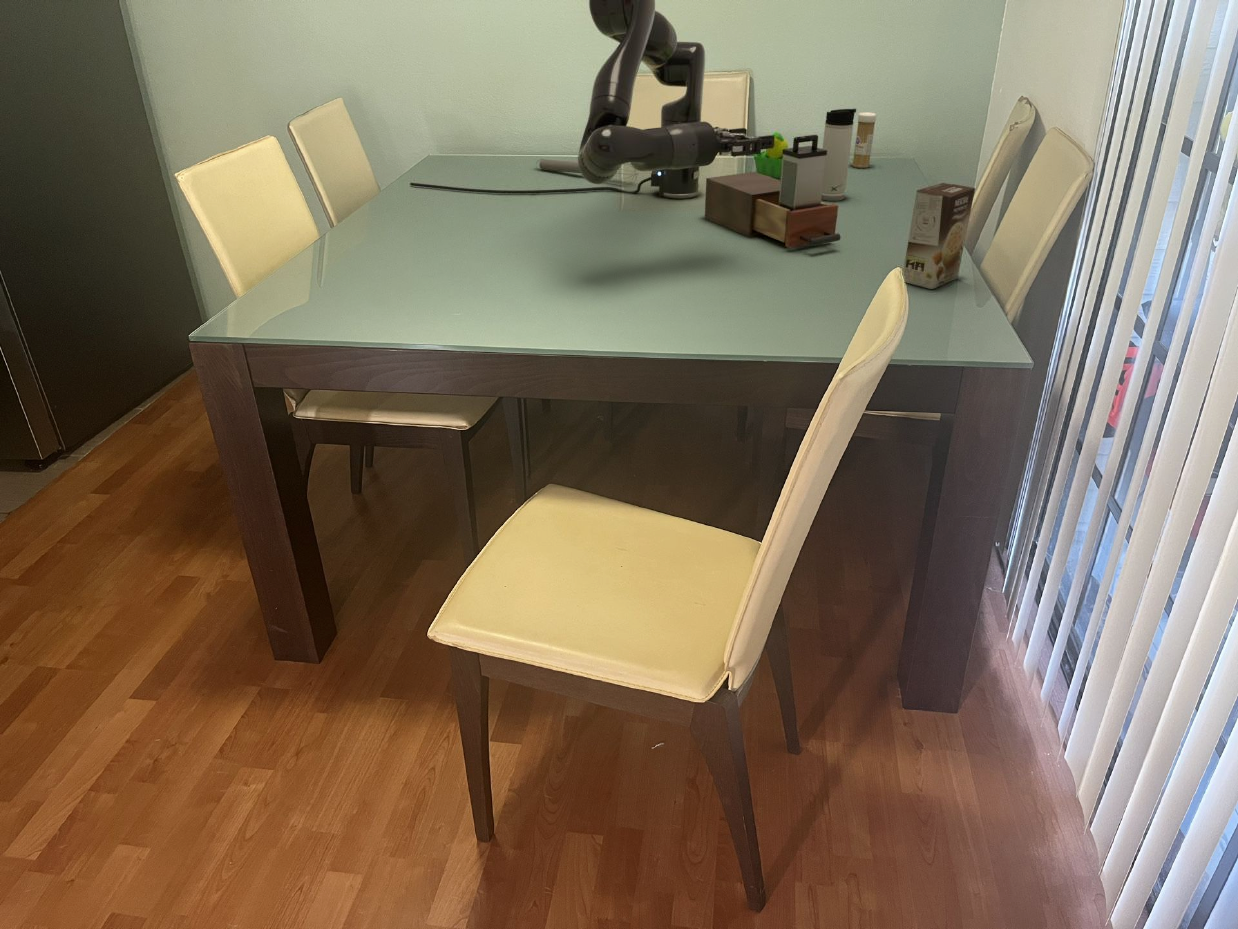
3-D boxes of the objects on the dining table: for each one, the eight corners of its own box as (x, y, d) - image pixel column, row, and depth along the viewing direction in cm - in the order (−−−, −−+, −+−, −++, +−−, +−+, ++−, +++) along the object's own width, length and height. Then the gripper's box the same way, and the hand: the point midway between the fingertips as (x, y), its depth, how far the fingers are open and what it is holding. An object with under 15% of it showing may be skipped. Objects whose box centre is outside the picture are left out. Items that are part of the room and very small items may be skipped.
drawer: (848, 244, 177) (852, 209, 173) (802, 253, 172) (805, 217, 168) (786, 221, 191) (789, 188, 188) (742, 228, 187) (744, 195, 183)
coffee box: (933, 290, 156) (950, 196, 148) (900, 281, 160) (914, 190, 152) (958, 278, 162) (976, 187, 154) (926, 270, 166) (941, 181, 158)
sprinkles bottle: (848, 166, 241) (854, 113, 234) (859, 163, 243) (866, 111, 237) (861, 169, 238) (868, 115, 231) (873, 166, 240) (880, 113, 234)
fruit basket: (803, 176, 231) (808, 129, 226) (790, 182, 225) (794, 135, 219) (763, 170, 237) (766, 125, 231) (748, 177, 230) (751, 131, 225)
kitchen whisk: (543, 166, 242) (542, 142, 239) (643, 185, 224) (644, 159, 221) (528, 170, 238) (527, 145, 235) (628, 190, 220) (629, 163, 217)
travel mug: (838, 202, 208) (849, 111, 198) (812, 198, 211) (822, 108, 201) (850, 197, 212) (861, 107, 202) (824, 193, 216) (834, 104, 205)
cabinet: (797, 228, 190) (801, 187, 185) (749, 237, 184) (752, 194, 180) (751, 210, 202) (754, 171, 198) (704, 218, 197) (706, 178, 193)
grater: (818, 232, 180) (828, 136, 171) (791, 237, 177) (800, 139, 168) (801, 226, 184) (811, 131, 174) (775, 231, 181) (783, 135, 172)
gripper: (708, 129, 152) (784, 121, 159) (664, 117, 163) (738, 110, 170) (706, 175, 156) (781, 165, 163) (663, 160, 167) (735, 152, 173)
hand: (759, 137), depth 166 cm, fingers open, 8 cm apart
